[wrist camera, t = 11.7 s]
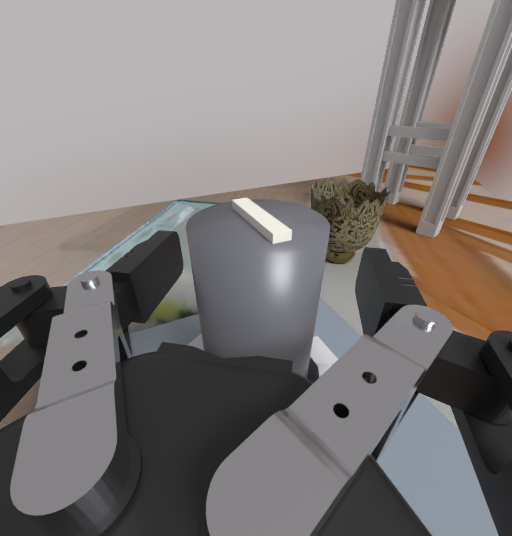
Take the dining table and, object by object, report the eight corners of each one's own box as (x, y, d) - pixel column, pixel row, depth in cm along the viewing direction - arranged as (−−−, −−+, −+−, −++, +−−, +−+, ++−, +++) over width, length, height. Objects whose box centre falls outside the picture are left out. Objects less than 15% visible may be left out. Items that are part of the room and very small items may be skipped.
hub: (86, 357, 19) (65, 313, 17) (304, 292, 25) (308, 254, 23) (28, 1041, 5) (-126, 1271, 3) (537, 525, 12) (600, 485, 9)
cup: (293, 246, 33) (299, 179, 29) (347, 239, 35) (359, 175, 31) (323, 280, 27) (336, 202, 23) (386, 269, 29) (408, 194, 25)
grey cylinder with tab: (204, 393, 16) (172, 201, 10) (274, 365, 17) (284, 186, 11) (232, 479, 12) (209, 261, 6) (317, 434, 14) (365, 227, 8)
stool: (380, 194, 51) (451, -96, 33) (478, 216, 42) (657, -176, 23) (334, 214, 42) (396, -170, 24) (445, 249, 33) (696, -349, 14)
